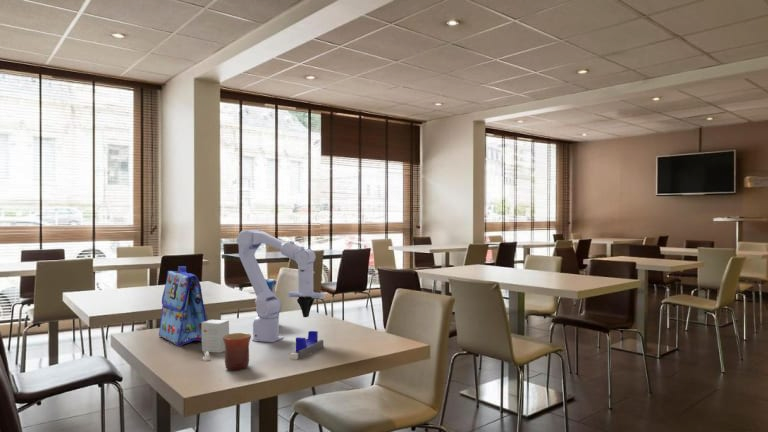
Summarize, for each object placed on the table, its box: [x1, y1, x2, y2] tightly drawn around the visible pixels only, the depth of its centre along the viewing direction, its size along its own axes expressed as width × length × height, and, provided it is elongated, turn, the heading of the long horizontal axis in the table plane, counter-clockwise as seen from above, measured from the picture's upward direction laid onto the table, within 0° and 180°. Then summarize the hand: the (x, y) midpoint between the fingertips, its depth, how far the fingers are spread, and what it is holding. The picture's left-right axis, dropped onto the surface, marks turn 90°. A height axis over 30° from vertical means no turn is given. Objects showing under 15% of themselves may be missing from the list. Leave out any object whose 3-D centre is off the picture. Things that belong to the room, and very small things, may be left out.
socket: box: [289, 339, 325, 361], centre depth 184 cm, size 4×19×2 cm, turn 161°
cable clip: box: [295, 330, 319, 353], centre depth 186 cm, size 12×4×6 cm, turn 164°
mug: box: [223, 332, 252, 372], centre depth 166 cm, size 12×9×10 cm
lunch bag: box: [158, 265, 208, 347], centre depth 205 cm, size 22×14×29 cm, turn 41°
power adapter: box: [201, 351, 211, 362], centre depth 175 cm, size 3×3×3 cm
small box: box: [201, 319, 230, 354], centre depth 187 cm, size 8×6×10 cm
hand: (305, 316), depth 197 cm, fingers closed
